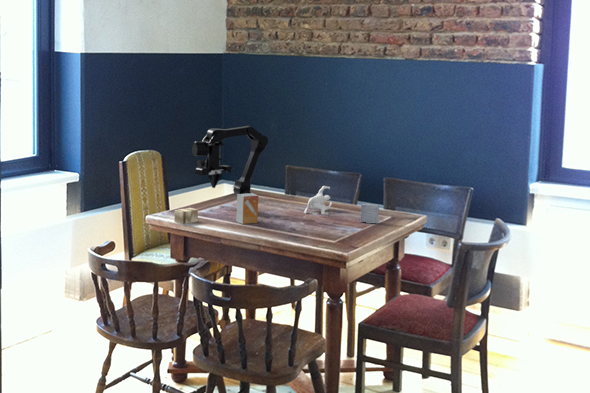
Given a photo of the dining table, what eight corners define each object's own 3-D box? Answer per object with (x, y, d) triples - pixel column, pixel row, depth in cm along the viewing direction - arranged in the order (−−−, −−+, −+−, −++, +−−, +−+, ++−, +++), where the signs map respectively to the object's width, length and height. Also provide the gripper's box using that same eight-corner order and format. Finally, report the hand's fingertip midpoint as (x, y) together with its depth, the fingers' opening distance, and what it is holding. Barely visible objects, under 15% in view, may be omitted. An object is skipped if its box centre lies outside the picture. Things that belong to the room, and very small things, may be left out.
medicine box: (378, 222, 314) (379, 204, 312) (376, 224, 310) (377, 206, 308) (362, 220, 316) (363, 203, 315) (360, 222, 312) (361, 204, 311)
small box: (242, 224, 299) (243, 196, 297) (235, 221, 304) (236, 193, 302) (258, 222, 303) (258, 195, 301) (251, 220, 309) (252, 192, 306)
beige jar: (190, 207, 304) (174, 210, 298) (198, 209, 301) (182, 212, 294) (190, 219, 305) (174, 221, 299) (197, 221, 302) (182, 224, 295)
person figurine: (325, 194, 322) (329, 182, 338) (300, 198, 324) (305, 186, 341) (330, 219, 326) (333, 206, 342) (305, 222, 328) (310, 209, 345)
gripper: (217, 152, 324) (217, 183, 327) (187, 154, 311) (187, 187, 313) (233, 154, 317) (232, 186, 320) (203, 157, 303) (202, 190, 306)
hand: (213, 187), depth 315 cm, fingers closed
